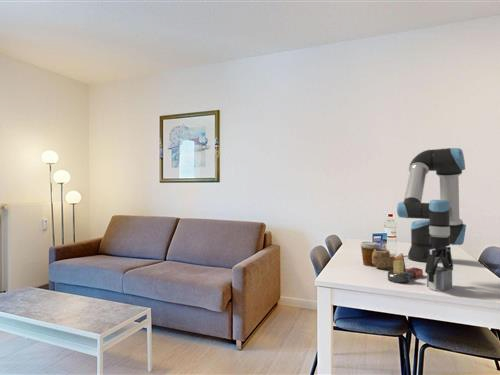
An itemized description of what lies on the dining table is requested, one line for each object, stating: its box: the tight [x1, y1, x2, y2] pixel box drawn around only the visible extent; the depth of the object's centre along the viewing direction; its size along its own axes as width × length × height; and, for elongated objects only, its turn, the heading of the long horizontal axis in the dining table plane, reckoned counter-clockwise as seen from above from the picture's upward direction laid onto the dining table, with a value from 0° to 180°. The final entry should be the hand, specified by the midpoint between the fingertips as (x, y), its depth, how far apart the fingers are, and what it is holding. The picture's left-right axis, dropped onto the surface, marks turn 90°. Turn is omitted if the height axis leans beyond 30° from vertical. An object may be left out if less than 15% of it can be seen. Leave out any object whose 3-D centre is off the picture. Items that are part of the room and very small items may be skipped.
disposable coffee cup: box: [360, 241, 379, 267], centre depth 167 cm, size 10×10×12 cm
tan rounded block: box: [372, 247, 406, 271], centre depth 158 cm, size 9×16×10 cm, turn 74°
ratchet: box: [387, 260, 424, 285], centre depth 142 cm, size 20×9×9 cm, turn 121°
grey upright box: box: [426, 265, 453, 292], centre depth 129 cm, size 7×7×8 cm
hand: (439, 287), depth 129 cm, fingers open, 10 cm apart
